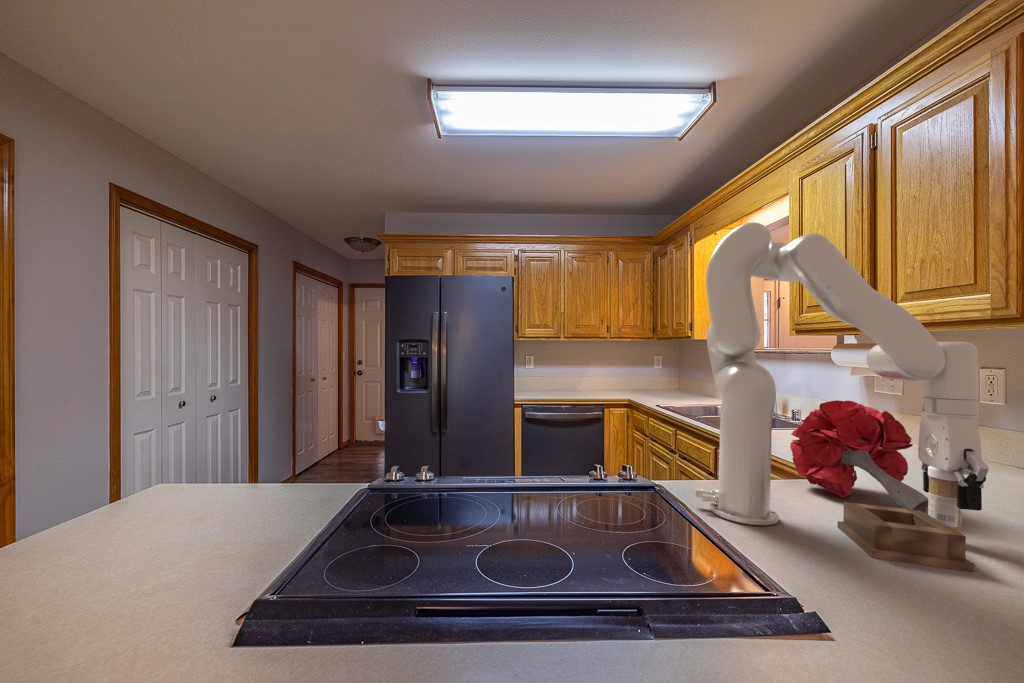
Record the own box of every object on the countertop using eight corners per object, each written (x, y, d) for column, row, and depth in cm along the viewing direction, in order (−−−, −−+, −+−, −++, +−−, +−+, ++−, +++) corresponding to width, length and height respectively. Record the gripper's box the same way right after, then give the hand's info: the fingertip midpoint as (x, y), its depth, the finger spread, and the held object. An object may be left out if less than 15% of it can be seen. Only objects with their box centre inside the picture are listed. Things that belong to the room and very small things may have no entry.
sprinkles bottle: (964, 542, 82) (965, 469, 82) (957, 547, 79) (958, 472, 79) (930, 533, 86) (932, 463, 86) (923, 538, 83) (924, 466, 83)
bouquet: (933, 537, 101) (826, 446, 127) (996, 460, 90) (865, 378, 115) (857, 549, 96) (762, 453, 122) (913, 470, 85) (796, 382, 111)
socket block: (871, 557, 74) (872, 525, 74) (837, 527, 87) (838, 500, 87) (973, 571, 70) (974, 538, 70) (922, 538, 83) (922, 510, 83)
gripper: (899, 402, 92) (900, 485, 92) (955, 412, 75) (957, 514, 75) (944, 404, 90) (945, 489, 89) (1012, 414, 73) (1013, 519, 73)
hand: (950, 500), depth 82 cm, fingers open, 9 cm apart
